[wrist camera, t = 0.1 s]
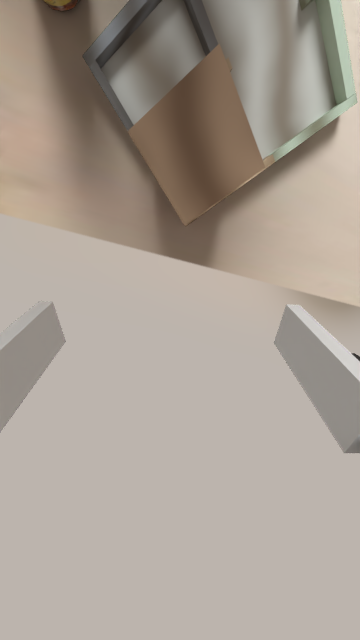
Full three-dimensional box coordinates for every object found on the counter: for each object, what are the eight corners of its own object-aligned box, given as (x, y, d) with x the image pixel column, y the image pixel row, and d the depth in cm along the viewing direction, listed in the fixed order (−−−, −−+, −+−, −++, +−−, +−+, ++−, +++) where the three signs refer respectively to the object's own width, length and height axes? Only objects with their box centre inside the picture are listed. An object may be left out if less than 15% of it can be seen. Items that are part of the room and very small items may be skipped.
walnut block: (180, 211, 33) (184, 225, 20) (148, 158, 30) (127, 131, 16) (225, 177, 31) (265, 167, 18) (197, 116, 28) (219, 43, 14)
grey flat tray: (184, 224, 35) (185, 226, 33) (91, 69, 26) (82, 55, 23) (340, 110, 28) (357, 102, 26) (289, -155, 19) (307, -209, 17)
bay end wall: (331, 107, 28) (347, 99, 26) (309, 5, 24) (326, -18, 21) (339, 101, 28) (355, 92, 25) (318, -3, 24) (336, -27, 21)
